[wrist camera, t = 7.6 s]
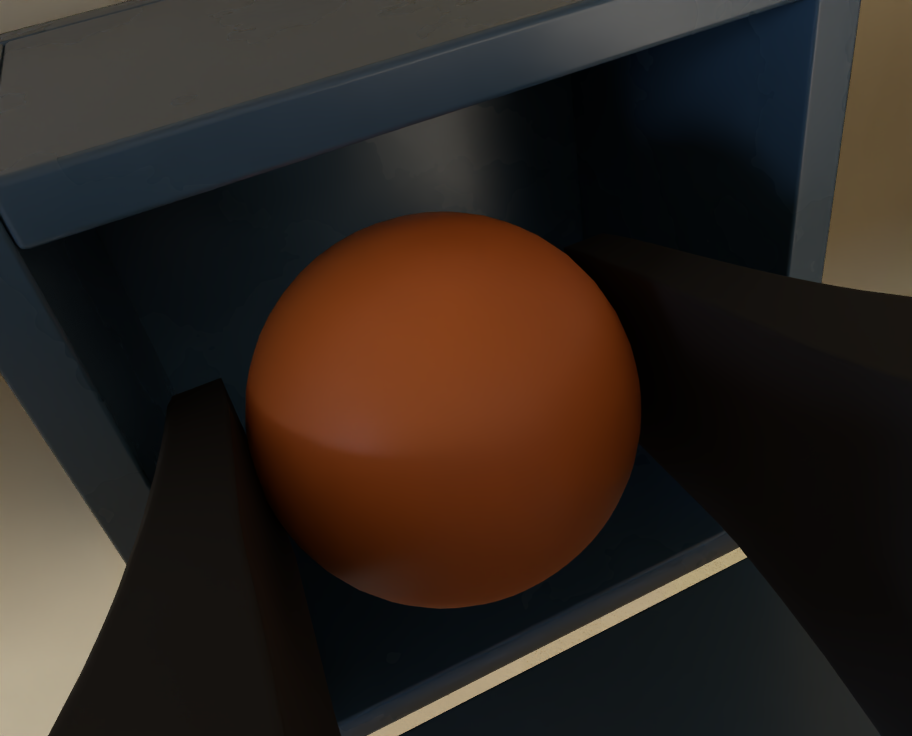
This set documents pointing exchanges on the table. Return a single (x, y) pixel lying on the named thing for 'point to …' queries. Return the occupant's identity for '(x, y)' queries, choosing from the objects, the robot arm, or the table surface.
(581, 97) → the bin
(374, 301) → the orange ball
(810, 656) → the bin lid
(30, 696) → the table surface
